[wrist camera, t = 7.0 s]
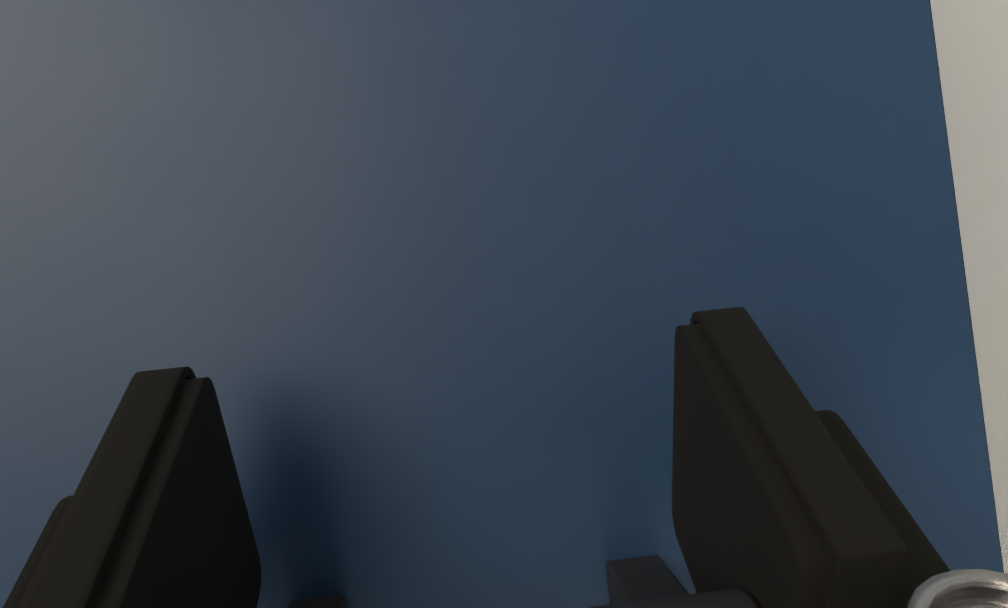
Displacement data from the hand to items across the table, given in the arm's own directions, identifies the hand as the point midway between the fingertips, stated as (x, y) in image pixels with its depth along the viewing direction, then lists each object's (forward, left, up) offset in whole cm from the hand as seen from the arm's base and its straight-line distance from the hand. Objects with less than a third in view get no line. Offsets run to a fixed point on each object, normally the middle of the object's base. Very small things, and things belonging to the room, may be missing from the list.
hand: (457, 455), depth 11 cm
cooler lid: (-1, +1, -3) cm, 3 cm away
